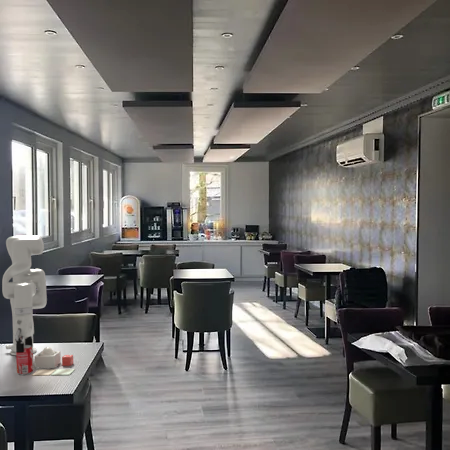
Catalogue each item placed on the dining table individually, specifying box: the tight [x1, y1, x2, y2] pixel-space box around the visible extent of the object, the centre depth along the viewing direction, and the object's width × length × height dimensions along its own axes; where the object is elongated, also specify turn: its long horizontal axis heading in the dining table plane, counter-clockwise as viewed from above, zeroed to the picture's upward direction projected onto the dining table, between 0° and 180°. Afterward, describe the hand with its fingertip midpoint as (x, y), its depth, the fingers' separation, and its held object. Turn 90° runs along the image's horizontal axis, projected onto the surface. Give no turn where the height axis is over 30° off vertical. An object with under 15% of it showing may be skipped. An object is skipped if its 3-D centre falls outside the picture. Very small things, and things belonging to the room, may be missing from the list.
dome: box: [39, 346, 56, 356], centre depth 250 cm, size 6×6×5 cm
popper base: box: [34, 350, 62, 369], centre depth 250 cm, size 9×9×6 cm
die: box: [61, 354, 74, 367], centre depth 251 cm, size 4×4×4 cm
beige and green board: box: [31, 368, 76, 377], centre depth 238 cm, size 16×8×1 cm, turn 89°
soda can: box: [15, 345, 34, 376], centre depth 238 cm, size 7×7×12 cm
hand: (24, 349), depth 237 cm, fingers open, 9 cm apart
